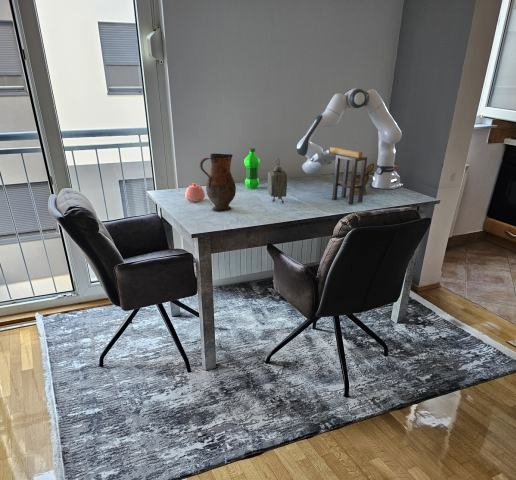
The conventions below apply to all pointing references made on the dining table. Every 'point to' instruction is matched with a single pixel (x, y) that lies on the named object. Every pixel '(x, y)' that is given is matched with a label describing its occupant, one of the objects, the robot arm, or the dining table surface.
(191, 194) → the sugar bowl
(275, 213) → the dining table surface
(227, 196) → the pitcher
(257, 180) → the plastic bottle
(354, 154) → the bar
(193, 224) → the dining table surface
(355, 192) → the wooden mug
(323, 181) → the dining table surface
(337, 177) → the stand
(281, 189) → the tabletop clock
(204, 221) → the dining table surface
